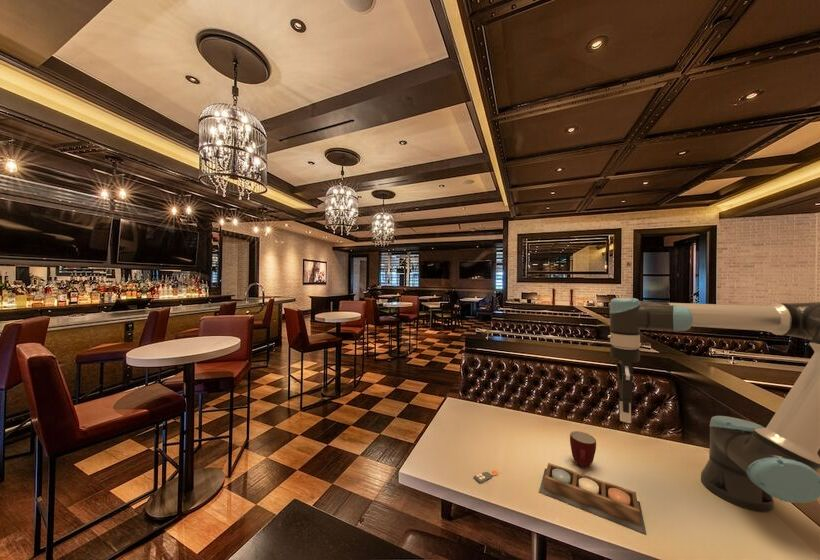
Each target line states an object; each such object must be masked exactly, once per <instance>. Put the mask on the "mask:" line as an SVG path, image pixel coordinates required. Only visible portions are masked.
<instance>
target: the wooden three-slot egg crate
mask: <svg viewBox="0 0 820 560" xmlns="http://www.w3.org/2000/svg"><path fill="white" fill-rule="evenodd" d="M553 469H562V470H564V471H566V472H567V473H568V474H569V475H570V484H568V483H565V482H562V481H559V480H557V479H554V478H552V470H553ZM542 475H543V476H542V478H541V483H540V487H539V489H538V493H540V494H542V495H545V496H547V497H550V498H552V499H555V500H557V501H560V502H561V503H564V504H567V505H570V506H572V507H574V508H577V509H579V510H582V511H584V512H586V513H590V514H592V515H594V516H597V517H599V518H602V519H604V520H607V521H610V522H613V523H615V524H618V525H620V526H623V527H625V528H626V529H627V528H628V529H630V530H632V531H635V532H638V533H640V534H643V535H645V536H647V531H646V526H645V521H644V515H643V510H642V506H641V501H640V500H638V498H637V497H638V496H637V492H636V491H633V490H631V489H627V488H624V487H622V486H618V485H616V484H613V483H609V482H607V481H603V480H601V479H597V478H595V477H592V476H588V475H585V474H583V473H580V472H577V471H574V470H571V469H568V468H565V467H562V466H560V465H556V464H553V463H550V462H548V463H547V467H546V468H544V471H543V474H542ZM580 478H588V479H591V480H593V481H594V482H596V483H597V484H598V486H599V495H598V494H595V493H592V492H590V491H587V490H584V489H581V488H579V479H580ZM609 488H617V489H620V490H622V491H624V492H625V493H627V494H628V495H629V497H630V506H628V505H625V504H623V503H620V502H617V501H614V500H612V499H609V498H608V489H609Z"/></svg>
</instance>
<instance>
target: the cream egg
mask: <svg viewBox="0 0 820 560" xmlns="http://www.w3.org/2000/svg"><path fill="white" fill-rule="evenodd" d="M579 488H581V489H584V490H587V491H590V492H592V493H595V494H598V495H599V486H598V484H597V483H596V482H594V481H593V480H591V479H588V478H580V479H579Z"/></svg>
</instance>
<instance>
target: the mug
mask: <svg viewBox="0 0 820 560" xmlns="http://www.w3.org/2000/svg"><path fill="white" fill-rule="evenodd" d="M569 443H570V444H569V445H570V450H571V456H572V457H573V460H574V462H575V464H576V465H577V466H578V467H580V468H582V469H588V468H589V467H591V465H592V464H593V461H594V458H595V454H596V450H597V440H596V438H595V437H594V436H592V434H589V433H587V432H583V431H578V430H576V431H575V430H573V431H571V432H570V433H569Z"/></svg>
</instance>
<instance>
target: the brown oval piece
mask: <svg viewBox="0 0 820 560" xmlns="http://www.w3.org/2000/svg"><path fill="white" fill-rule="evenodd" d="M608 498H609V499H612V500H614V501H617V502H620V503H623V504H625V505H628V506H630V497H629V495H628V494H627V493H625V492H624V491H622V490H620V489H617V488H609V489H608Z"/></svg>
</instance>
